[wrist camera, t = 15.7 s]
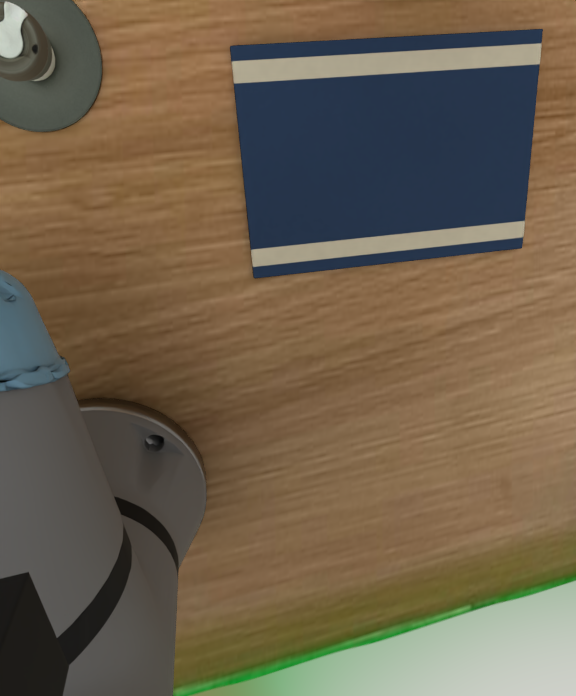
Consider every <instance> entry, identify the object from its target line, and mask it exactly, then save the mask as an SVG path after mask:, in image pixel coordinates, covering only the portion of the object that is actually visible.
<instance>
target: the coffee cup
mask: <svg viewBox="0 0 576 696" xmlns="http://www.w3.org/2000/svg"><path fill="white" fill-rule="evenodd" d="M101 77H102V61H101V54H100V49H99V45H98V42H97V39H96V36H95V34H94V31H93V29H92V27H91V25H90V23H89V22H88V20H87V18H86V17H85V15H84V14H83V13H82V11H81V10H80V9H79V8H78V7H77V5H76V4H75V3H74V2H73V1H72V0H0V119H1V120H2V121H4V122H6V123H8V124H10V125H12V126H15V127H18V128H21V129H24V130H29V131H36V132H47V131H55V130H59V129H62V128H65V127H67V126H70V125H71V124H73V123H75V122H76V121H78V120H79V119H80V118H81V117H83V116H84V115H85V113H86V112H87V111H88V110H89V109H90V107H91V106H92V104H93V102H94V101H95V99H96V96H97V94H98V91H99V87H100V83H101Z"/></svg>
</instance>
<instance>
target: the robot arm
mask: <svg viewBox="0 0 576 696" xmlns="http://www.w3.org/2000/svg"><path fill="white" fill-rule="evenodd" d="M69 372H70V369H69V366H68V363H67V362H66V360H65V358H64V357H62V356H60V355H59V354H58V352H57V350H56V348H55V346H54V344H53V342H52V340H51V338H50V335H49V333H48V331H47V329H46V327H45V325H44V323H43V321H42V318H41V316H40V314H39V312H38V309H37V307H36V305H35V303H34V300H33V298H32V296H31V295H30V293H29V292H28V290H27V289H26V288H25V287H24V285H23V284H22V283H21V282H20V281H18V280H17V279H16V278H15V277H13V276H12V275H10V274H8V273H6V272H5V271H2V270H0V696H173V679H174V657H175V635H176V613H177V591H178V569H179V567H180V565H181V563H182V561H183V559H184V557H185V555H186V553H187V551H188V549H189V547H190V545H191V543H192V541H193V539H194V537H195V535H196V533H197V530H198V528H199V526H200V524H201V522H202V519H203V516H204V512H205V507H206V473H205V468H204V464H203V461H202V458H201V455H200V453H199V451H198V449H197V447H196V446H195V444H194V443H193V441H192V440H191V439H190V437H189V436H188V435H187V434H186V433H185V432H184V431H183V430H182V429H181V428H180V427H179V426H178V425H177V424H176V423H175V422H173V421H172V420H170V419H169V418H168V417H166V416H164V415H163V414H161V413H159V412H157V411H155V410H153V409H151V408H149V407H146V406H143V405H140V404H137V403H133V402H129V401H124V400H118V399H106V398H98V399H84V400H79V401H77V399H76V396H75V394H74V391H73V388H72V386H71V383H70V380H69V378H68V375H67V374H68V373H69Z"/></svg>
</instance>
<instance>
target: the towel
mask: <svg viewBox="0 0 576 696" xmlns="http://www.w3.org/2000/svg"><path fill="white" fill-rule="evenodd" d="M542 31H543V29H534V30H515V31H496V32H478V33H459V34H441V35H422V36H404V37H385V38H367V39H348V40H330V41H311V42H293V43H274V44H256V45H237V46H231V47H230V51H231V61H232V71H233V81H234V90H235V100H236V110H237V120H238V129H239V139H240V149H241V159H242V168H243V178H244V188H245V198H246V207H247V217H248V227H249V237H250V246H251V256H252V266H253V276H254V278H262V277H271V276H279V275H288V274H297V273H306V272H315V271H324V270H333V269H342V268H350V267H359V266H368V265H377V264H386V263H395V262H404V261H413V260H421V259H430V258H439V257H448V256H457V255H466V254H475V253H484V252H492V251H501V250H510V249H519V248H522V244H523V236H524V226H525V212H526V201H527V191H528V180H529V169H530V159H531V148H532V138H533V127H534V116H535V106H536V95H537V84H538V74H539V64H540V56H541V46H542V44H541V42H542Z"/></svg>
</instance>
